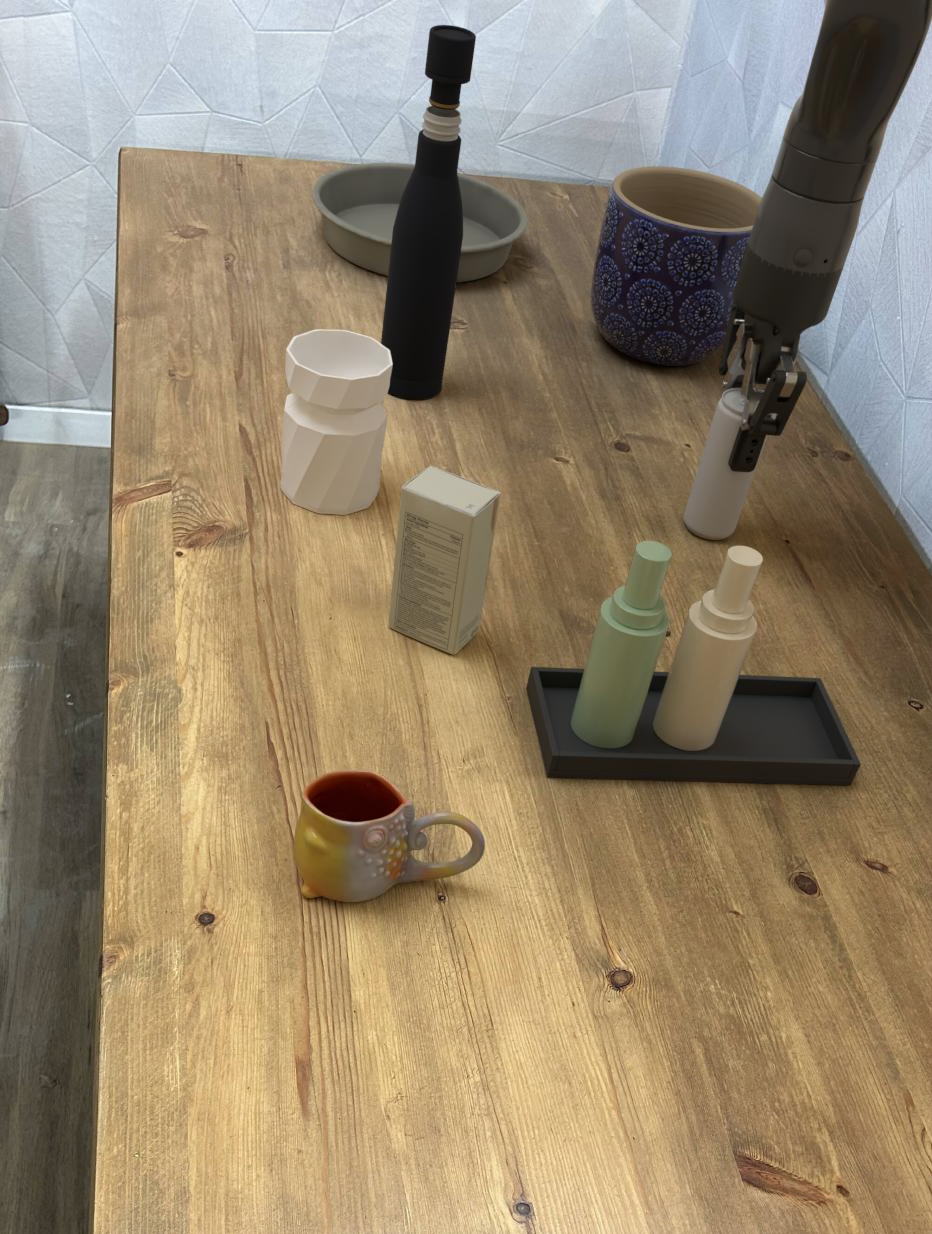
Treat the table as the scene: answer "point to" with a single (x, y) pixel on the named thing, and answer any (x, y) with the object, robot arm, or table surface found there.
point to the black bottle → (429, 228)
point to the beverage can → (719, 475)
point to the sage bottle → (624, 653)
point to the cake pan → (368, 206)
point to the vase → (334, 420)
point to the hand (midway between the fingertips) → (732, 451)
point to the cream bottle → (710, 656)
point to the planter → (670, 262)
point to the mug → (367, 838)
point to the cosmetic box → (442, 558)
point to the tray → (743, 750)
